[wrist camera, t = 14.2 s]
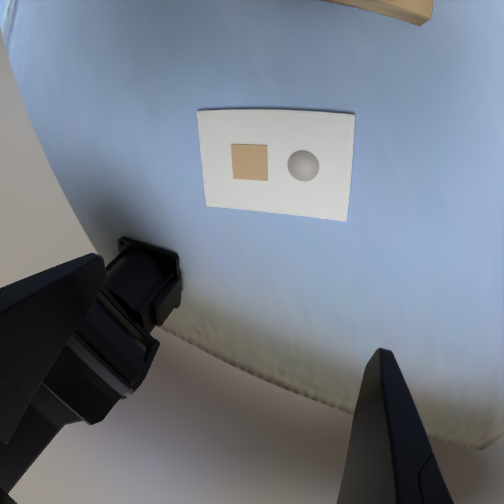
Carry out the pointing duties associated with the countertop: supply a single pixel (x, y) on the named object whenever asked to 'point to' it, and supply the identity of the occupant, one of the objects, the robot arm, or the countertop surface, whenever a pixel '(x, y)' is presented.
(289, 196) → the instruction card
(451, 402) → the countertop surface
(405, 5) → the base brick
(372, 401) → the robot arm
